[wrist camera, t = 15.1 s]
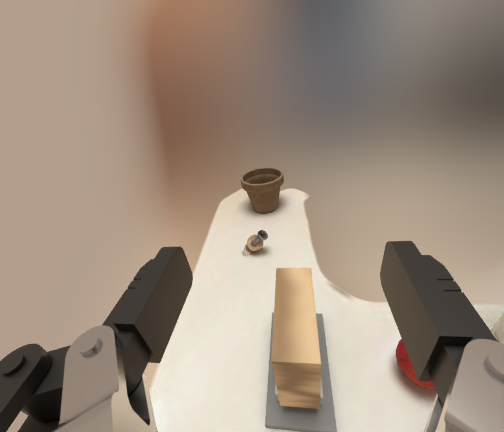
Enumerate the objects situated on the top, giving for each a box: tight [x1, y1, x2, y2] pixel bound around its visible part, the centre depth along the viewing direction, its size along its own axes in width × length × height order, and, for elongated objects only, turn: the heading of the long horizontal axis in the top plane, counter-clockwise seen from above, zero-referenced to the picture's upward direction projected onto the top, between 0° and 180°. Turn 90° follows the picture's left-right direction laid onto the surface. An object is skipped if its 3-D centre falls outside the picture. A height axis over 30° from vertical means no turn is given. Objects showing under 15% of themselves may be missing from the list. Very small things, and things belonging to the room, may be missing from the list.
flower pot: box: [241, 167, 284, 213], centre depth 69 cm, size 12×11×10 cm
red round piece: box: [396, 339, 436, 390], centre depth 30 cm, size 6×6×8 cm
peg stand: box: [265, 313, 337, 432], centre depth 34 cm, size 8×15×3 cm, turn 173°
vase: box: [242, 226, 268, 256], centre depth 54 cm, size 5×5×6 cm
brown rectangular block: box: [272, 268, 321, 409], centre depth 31 cm, size 4×12×10 cm, turn 173°
